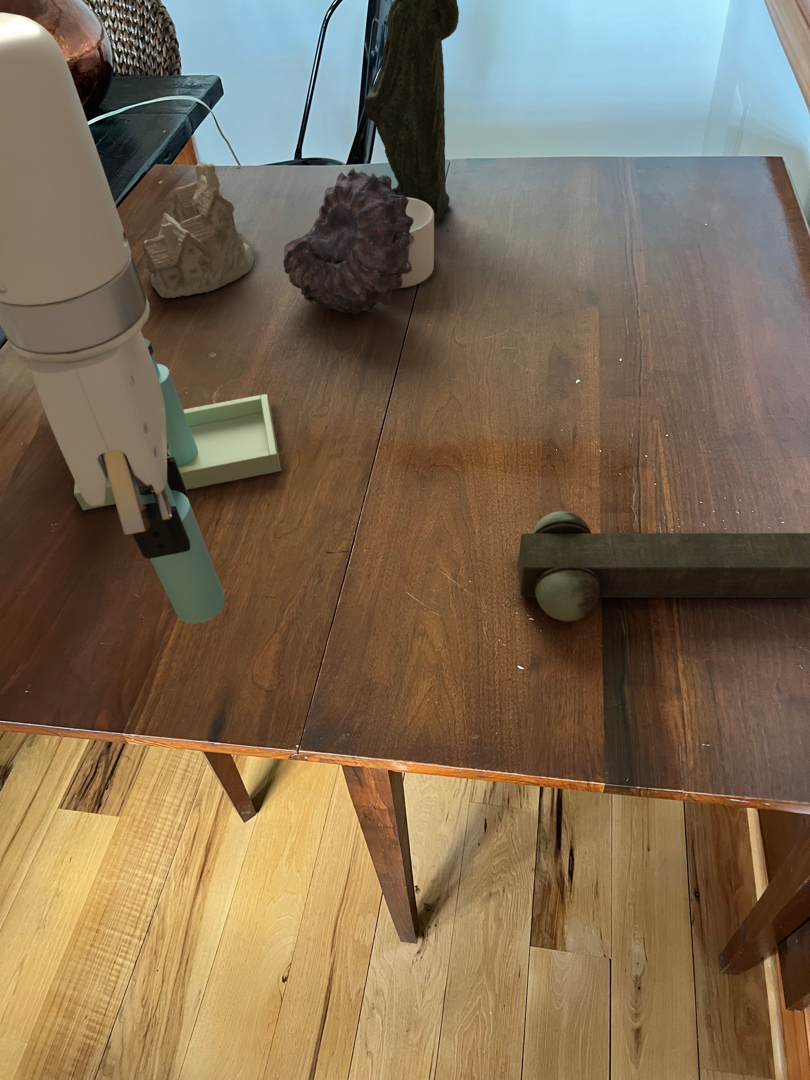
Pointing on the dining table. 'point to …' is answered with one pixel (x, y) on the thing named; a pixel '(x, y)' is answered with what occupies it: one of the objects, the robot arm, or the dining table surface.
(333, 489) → the dining table surface
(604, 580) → the post
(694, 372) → the dining table surface
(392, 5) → the statue
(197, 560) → the bottle
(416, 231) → the mug
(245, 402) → the tray
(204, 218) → the ceramic cottage
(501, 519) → the dining table surface
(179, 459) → the tray bottle
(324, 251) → the seashell
